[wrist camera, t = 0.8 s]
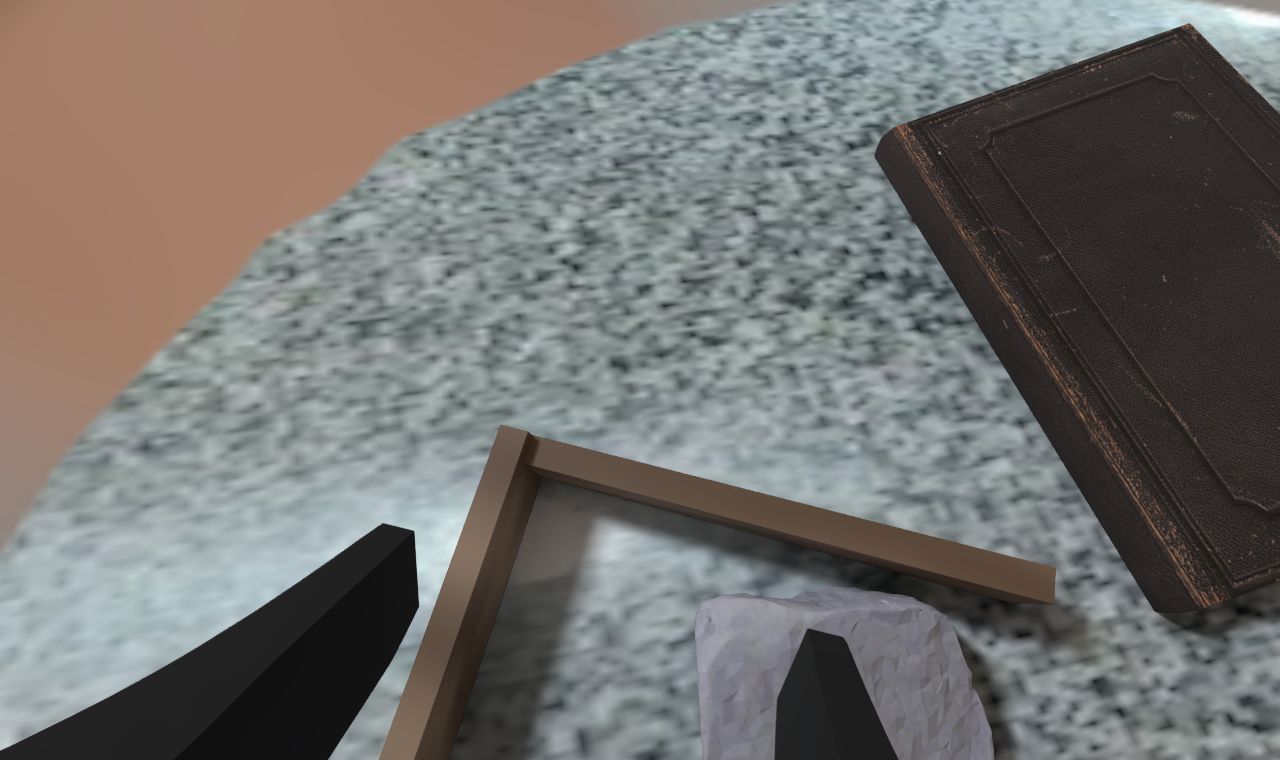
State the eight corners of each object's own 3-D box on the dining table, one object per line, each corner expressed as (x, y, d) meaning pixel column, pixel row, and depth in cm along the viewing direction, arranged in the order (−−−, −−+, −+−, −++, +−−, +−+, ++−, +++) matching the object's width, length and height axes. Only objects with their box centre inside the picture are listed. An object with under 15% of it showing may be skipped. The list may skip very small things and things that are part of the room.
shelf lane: (972, 1115, 18) (1030, 1231, 15) (383, 859, 22) (325, 904, 19) (1014, 571, 23) (1064, 567, 20) (526, 445, 27) (500, 424, 24)
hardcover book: (1157, 61, 31) (1190, 21, 29) (1536, 472, 23) (1622, 459, 20) (869, 163, 31) (881, 130, 29) (1143, 612, 22) (1189, 614, 20)
